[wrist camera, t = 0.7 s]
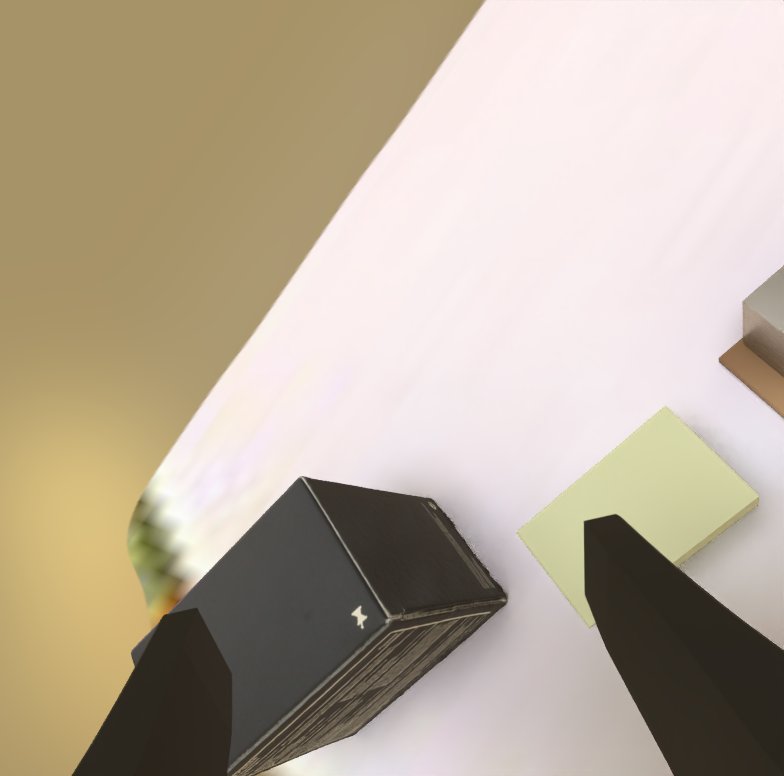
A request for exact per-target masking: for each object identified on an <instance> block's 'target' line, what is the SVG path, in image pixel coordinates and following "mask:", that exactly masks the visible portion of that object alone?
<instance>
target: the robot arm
mask: <svg viewBox="0 0 784 776" xmlns="http://www.w3.org/2000/svg"><path fill="white" fill-rule="evenodd" d="M584 587H585V597H586V599H587V602H588V604H589V607H590V610H591V612H592V615H593V617H594V620H595V622H596V625H597V627H598V630H599V632H600V634H601V637H602V639H603V642H604V644H605V647H606V649H607V651H608V653H609V654H610V656H611V658H612V660H613V662H614V664H615V666H616V668H617V670H618V672H619V673H620V675H621V677H622V679H623V681H624V683H625V685H626V687H627V688H628V690H629V692H630V694H631V696H632V698H633V700H634V702H635V703H636V705H637V707H638V709H639V711H640V713H641V715H642V716H643V718H644V720H645V722H646V724H647V726H648V728H649V729H650V731H651V733H652V735H653V737H654V739H655V741H656V742H657V744H658V746H659V748H660V750H661V752H662V754H663V756H664V757H665V759H666V761H667V763H668V765H669V767H670V769H671V771H672V773H673V775H674V776H784V650H783V649H781V648H780V647H778V646H777V645H776V644H774V643H773V642H771V641H770V640H769V639H767V638H766V637H765V636H763V635H762V634H761V633H759V632H758V631H757V630H755V629H754V628H752V627H751V626H750V625H748V624H747V623H746V622H744V621H743V620H742V619H740V618H739V617H738V616H737V615H735V614H734V613H733V612H731V611H730V610H729V609H728V608H726V607H725V606H724V605H723V604H721V603H720V602H719V601H718V600H716V599H715V598H714V597H713V596H711V595H710V594H709V593H708V592H706V591H705V590H704V589H703V588H702V587H700V586H699V585H698V584H697V583H695V582H694V581H693V580H692V579H691V578H689V577H688V576H687V575H686V574H685V573H683V572H682V571H681V570H680V569H679V568H678V567H676V566H675V565H674V564H673V563H672V562H671V561H670V560H668V559H667V558H666V557H665V556H664V555H663V554H661V553H660V552H659V551H658V550H657V549H656V548H655V547H654V546H653V545H651V544H650V543H649V542H648V541H647V540H646V539H645V538H644V537H643V536H641V535H640V534H639V533H638V532H637V531H636V530H635V529H634V528H633V527H632V526H631V525H629V524H628V523H627V522H626V521H625V520H624V519H623V518H622V517H621V516H619V515H617V514H613V515H608V516H604V517H599V518H595V519H590V520H586V521H584ZM231 735H232V673H231V671H230V669H229V667H228V665H227V663H226V662H225V660H224V658H223V656H222V654H221V652H220V650H219V648H218V646H217V644H216V643H215V641H214V639H213V637H212V635H211V633H210V631H209V629H208V627H207V625H206V623H205V622H204V620H203V618H202V616H201V614H200V612H199V610H198V608H192V609H188V610H183V611H179V612H175V613H170V614H166V615H164V616H163V617H162V619H161V620H160V622H159V624H158V625H157V627H156V629H155V631H154V633H153V635H152V636H151V638H150V640H149V642H148V644H147V646H146V648H145V650H144V651H143V653H142V655H141V657H140V659H139V661H138V663H137V664H136V666H135V668H134V670H133V672H132V674H131V676H130V677H129V679H128V681H127V683H126V684H125V686H124V688H123V690H122V692H121V693H120V695H119V697H118V699H117V701H116V702H115V704H114V706H113V707H112V709H111V711H110V713H109V714H108V716H107V718H106V720H105V721H104V723H103V725H102V726H101V728H100V730H99V732H98V733H97V735H96V737H95V739H94V740H93V742H92V744H91V745H90V747H89V749H88V750H87V752H86V754H85V755H84V757H83V758H82V760H81V761H80V763H79V765H78V766H77V768H76V769H75V771H74V773H73V774H72V776H227V771H228V762H229V754H230V745H231Z"/></svg>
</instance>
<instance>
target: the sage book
mask: <svg viewBox="0 0 784 776" xmlns="http://www.w3.org/2000/svg"><path fill="white" fill-rule="evenodd" d="M759 497H760V496H759V495H758V494H757V493H756V492H755V491H754V490H753V489H752V488H751V487H750V486H749V485H748V484H747V483H746V482H745V481H744V480H743V479H742V478H741V477H740V476H739V475H738V474H736V473H735V472H734V471H733V470H732V469H731V468H730V467H729V466H728V465H727V464H726V463H725V462H724V461H723V460H722V459H721V458H720V457H719V456H718V455H717V454H716V453H715V452H714V451H713V450H712V449H711V448H710V447H708V446H707V445H706V444H705V443H704V442H703V441H702V440H701V439H700V438H699V437H698V436H697V435H696V434H695V433H694V432H693V431H692V430H691V429H690V428H689V427H688V426H687V425H686V424H685V423H684V422H683V421H681V420H680V419H679V418H678V417H677V416H676V415H675V414H674V413H673V412H672V411H671V410H670V409H669V408H668V407H667V406H665V407H663V408H662V409H661V410H660V411H659V412H658V413H656V414H655V415H654V416H653V417H652V418H650V419H649V420H648V421H647V422H646V423H645V424H643V425H642V426H641V427H640V428H639V429H637V430H636V431H635V432H634V433H633V434H632V435H630V436H629V437H628V438H627V439H626V440H624V441H623V442H622V443H621V444H620V445H619V446H617V447H616V448H615V449H614V450H613V451H611V452H610V453H609V454H608V455H607V456H606V457H604V458H603V459H602V460H601V461H600V462H599V463H597V464H596V465H595V466H594V467H593V468H591V469H590V470H589V471H588V472H587V473H586V474H584V475H583V476H582V477H581V478H580V479H578V480H577V481H576V482H575V483H574V484H573V485H571V486H570V487H569V488H568V489H567V490H565V491H564V492H563V493H562V494H561V495H560V496H558V497H557V498H556V499H555V500H554V501H552V502H551V503H550V504H549V505H548V506H547V507H545V508H544V509H543V510H542V511H541V512H539V513H538V514H537V515H536V516H535V517H534V518H532V519H531V520H530V521H529V522H528V523H526V524H525V525H524V526H523V527H522V528H521V529H519V530H518V531H517V532H516V534H517V535H518V536H519V538H520V539H521V540H522V541H523V543H524V544H525V545H526V547H527V548H528V549H529V551H530V552H531V553H532V554H533V556H534V557H535V558H536V560H537V561H538V562H539V564H540V565H541V566H542V567H543V569H544V570H545V571H546V573H547V574H548V575H549V577H550V578H551V579H552V580H553V582H554V583H555V584H556V586H557V587H558V588H559V590H560V591H561V592H562V593H563V595H564V596H565V597H566V599H567V600H568V601H569V603H570V604H571V605H572V606H573V608H574V609H575V610H576V612H577V613H578V614H579V616H580V617H581V618H582V620H583V621H584V622H585V623H586V625H587V626H588V627H589V628H590V627H592V626H594V625H596V622H595V620H594V617H593V615H592V612H591V610H590V607H589V604H588V602H587V599H586V597H585V587H584V521H586V520H590V519H595V518H599V517H604V516H608V515H613V514H617V515H619V516H621V517H622V518H623V519H624V520H625V521H626V522H627V523H628V524H629V525H631V526H632V527H633V528H634V529H635V530H636V531H637V532H638V533H639V534H640V535H641V536H643V537H644V538H645V539H646V540H647V541H648V542H649V543H650V544H651V545H653V546H654V547H655V548H656V549H657V550H658V551H659V552H660V553H661V554H663V555H664V556H665V557H666V558H667V559H668V560H670V561H671V562H672V563H673V564H674V565H675V566H676V567H678V566H680V565H681V564H682V563H684V562H685V561H686V560H687V559H689V558H690V557H691V556H693V555H694V554H695V553H697V552H698V551H699V550H700V549H702V548H703V547H704V546H706V545H707V544H708V543H710V542H711V541H712V540H713V539H715V538H716V537H717V536H719V535H720V534H721V533H723V532H724V531H725V530H726V529H728V528H729V527H730V526H732V525H733V524H734V523H736V522H737V521H738V520H739V519H741V518H742V517H743V516H745V515H746V514H747V513H748V512H750V511H751V510H752V509H754V508H755V507H756V506H758V502H759Z"/></svg>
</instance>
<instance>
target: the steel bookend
mask: <svg viewBox="0 0 784 776" xmlns="http://www.w3.org/2000/svg"><path fill="white" fill-rule="evenodd" d="M743 344H744V345H745V346H746V347H748V348H749V349H750V350H751V351H752V352H754V353H755V354H756V355H757V356H758V357H760V358H761V359H762V360H763V361H764V362H766V363H767V364H768V365H769V366H770V367H772V368H773V369H774V370H775V371H776V372H778V373H779V374H780V375H781V376H782V377H784V266H783V267H782V268H780V269H779V270H778V271H777V272H776V273H775V274H774V275H772V276H771V277H770V278H769V279H768V280H767V281H765V282H764V283H763V284H762V285H761V286H760V287H758V288H757V289H756V290H755V291H754V292H753V293H752V294H750V295H749V296H748V297H747V298H746V299H745V300H743Z"/></svg>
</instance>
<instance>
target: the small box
mask: <svg viewBox="0 0 784 776" xmlns="http://www.w3.org/2000/svg"><path fill="white" fill-rule="evenodd" d="M504 605H506V594H505V593H504V592H502V589H501V587H500V586H499V585H498V584H497V583H496V582H495V581H494V580H493V579H492V578H491V577H490V576H489V574H488V571H487V570H486V569H484V567H483V566H482V565H481V563H480V562H479V561H478V559H477V558H476V557H475V555H474V553H472V552H471V550H470V549H469V547H468V546H467V545H466V543H465V541H464V539H463V538H461V536H460V535H459V534H458V532H457V531H456V530H455V528H454V525H453V523H452V522H451V521H450V520H449V518H448V517H447V516H446V515H445V513H443V512H442V510H441V509H440V508H439V507H438V506H437V505H436V503H435V502H434V501H433V500H432V499H431V498H423V497H418V496H411V495H405V494H399V493H393V492H387V491H380V490H374V489H368V488H363V487H358V486H352V485H346V484H341V483H336V482H329V481H322V480H317V479H311V478H308V477H304V476H301V477H299V478H298V479H297V480H296V481H295V482H294V483H293V484H292V485H291V486H290V488H289V489H288V490H287V491H286V492H285V493H284V494H283V495H282V496H281V497H280V498H279V499H278V500H277V501H276V502H275V503H274V504H273V505H272V506H271V507H270V508H269V509H268V510H267V511H266V512H265V513H264V514H263V515H262V516H261V518H260V519H259V520H258V521H257V522H256V523H255V524H254V525H253V526H252V527H251V528H250V529H249V530H248V531H247V532H246V533H245V534H244V535H243V536H242V537H241V538H240V539H239V541H238V542H237V543H236V544H235V545H234V546H233V547H232V548H231V549H230V550H229V551H228V552H227V553H226V554H225V555H224V556H223V557H222V558H221V559H220V560H219V561H218V562H217V563H216V564H215V565H214V566H213V568H212V569H211V570H210V571H209V572H208V573H207V574H206V575H205V576H204V577H203V578H202V579H201V580H200V581H199V582H198V583H197V584H196V585H195V586H194V587H193V588H192V589H191V590H190V591H189V592H188V593H187V594H186V595H185V596H184V597H183V598H182V599H181V600H180V601H179V602H178V604H177V605H176V606H175V607H174V608H173V609H172V610H171V611H170V612H169V613H168V614H170V613H175V612H179V611H183V610H188V609H192V608H198V610H199V612H200V614H201V616H202V618H203V620H204V622H205V623H206V625H207V627H208V629H209V631H210V633H211V635H212V637H213V639H214V641H215V643H216V644H217V646H218V648H219V650H220V652H221V654H222V656H223V658H224V660H225V662H226V663H227V665H228V667H229V669H230V671H231V673H232V735H231V745H230V754H229V762H228V771H227V776H254V775H257V774H259V773H261V772H264V771H267V770H269V769H271V768H273V767H276V766H278V765H281V764H283V763H285V762H287V761H290V760H292V759H294V758H297V757H299V756H302V755H304V754H307V753H309V752H311V751H313V750H316V749H318V748H321V747H323V746H325V745H329V744H331V743H334V742H337V741H339V740H342V739H345V738H348V737H350V736H353V735H355V734H356V733H357V732H358V731H359V730H360V729H361V728H362V727H364V726H365V725H366V724H367V723H369V722H370V721H371V720H372V719H373V718H374V717H376V716H377V715H378V714H379V713H380V712H382V711H383V710H384V709H385V708H386V707H387V706H388V705H389V704H391V703H392V702H393V701H394V700H396V699H397V698H398V697H400V696H401V695H402V694H403V693H404V692H405V691H406V690H407V689H408V688H409V687H410V686H412V685H413V684H414V683H415V682H416V681H417V680H419V679H420V678H421V677H422V676H423V675H424V674H426V673H427V672H428V671H429V670H431V669H432V668H433V667H434V666H435V665H436V664H437V663H439V662H441V661H442V660H443V659H444V658H445V657H446V656H447V655H448V654H449V653H451V652H452V650H454V649H455V648H456V647H457V646H458V645H460V644H461V643H462V642H463V641H464V640H466V639H467V638H468V637H469V636H470V635H471V634H472V633H473V632H475V631H476V630H477V629H478V628H479V627H480V626H481V625H482V624H483V623H484V622H486V621H487V620H488V619H489V618H490V617H491V616H492V615H493V614H494V613H496V612H497V611H498V610H499V609H500V608H502V607H503V606H504ZM158 624H159V623H158ZM158 624H157V625H158ZM157 625H156V626H155V627H154V628H153V629H152V630H151V631H150V632H149V633H148V634H147V635H146V636H145V637H144V638H143V639H142V640H141V641H140V642H139V643H138V645H137V646H136V647H135V648H134V649H133V650H132V651H131V655H132V659H133V662H134V665H135V666H136V664H137V663H138V661H139V659H140V657H141V655H142V653H143V651H144V650H145V648H146V646H147V644H148V642H149V640H150V638H151V636H152V635H153V633H154V631H155V629H156V627H157Z"/></svg>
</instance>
